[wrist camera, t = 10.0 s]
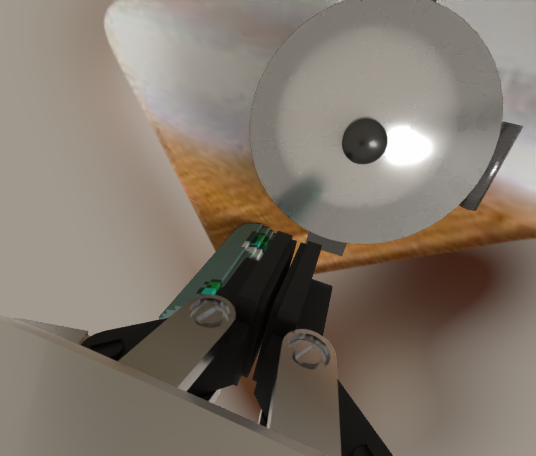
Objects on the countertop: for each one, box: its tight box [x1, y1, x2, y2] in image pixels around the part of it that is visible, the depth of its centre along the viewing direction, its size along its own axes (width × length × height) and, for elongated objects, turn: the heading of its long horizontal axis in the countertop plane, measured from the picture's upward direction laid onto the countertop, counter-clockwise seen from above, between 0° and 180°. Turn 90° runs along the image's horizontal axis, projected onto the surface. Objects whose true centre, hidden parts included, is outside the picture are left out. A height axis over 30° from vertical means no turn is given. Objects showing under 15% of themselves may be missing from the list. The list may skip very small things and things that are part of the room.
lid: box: [250, 0, 523, 244], centre depth 18 cm, size 15×14×2 cm
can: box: [159, 223, 276, 320], centre depth 29 cm, size 6×6×15 cm
